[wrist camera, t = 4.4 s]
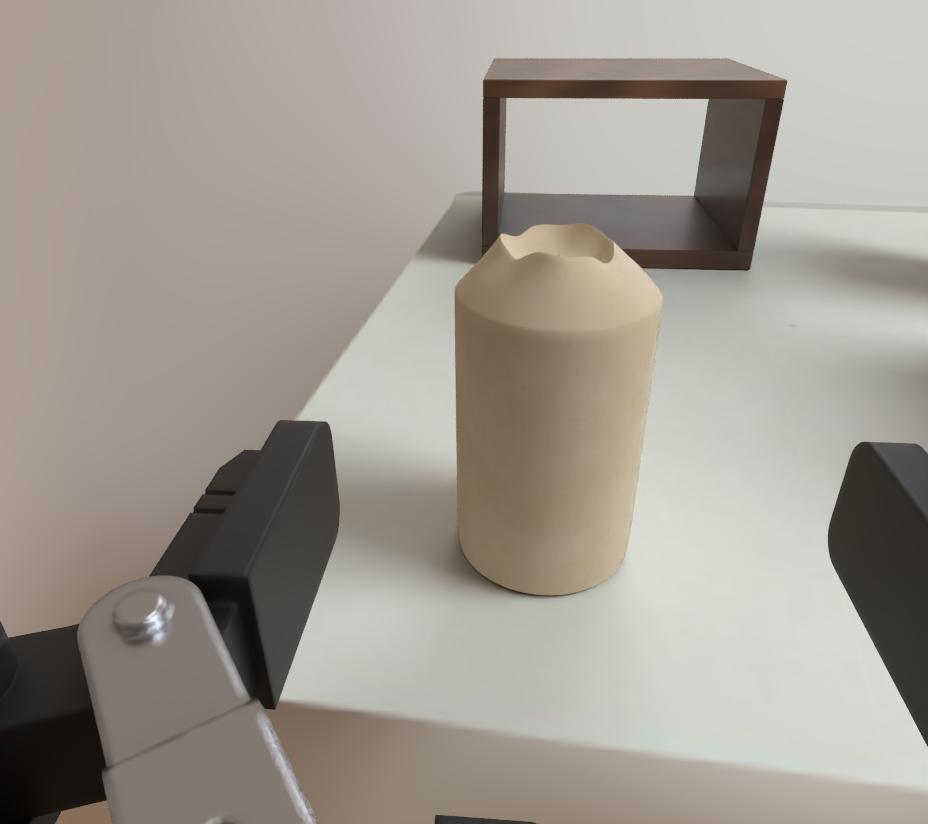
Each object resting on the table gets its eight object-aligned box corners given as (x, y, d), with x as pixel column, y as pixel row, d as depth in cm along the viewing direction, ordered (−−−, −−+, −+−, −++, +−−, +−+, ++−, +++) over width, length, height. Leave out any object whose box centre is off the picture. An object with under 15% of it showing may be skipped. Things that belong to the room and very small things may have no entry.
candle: (621, 613, 21) (669, 280, 16) (437, 580, 22) (427, 261, 17) (632, 500, 25) (672, 214, 20) (479, 478, 27) (481, 203, 22)
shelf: (481, 264, 47) (483, 79, 42) (491, 208, 59) (493, 58, 54) (750, 270, 46) (788, 80, 41) (704, 211, 58) (728, 58, 53)
